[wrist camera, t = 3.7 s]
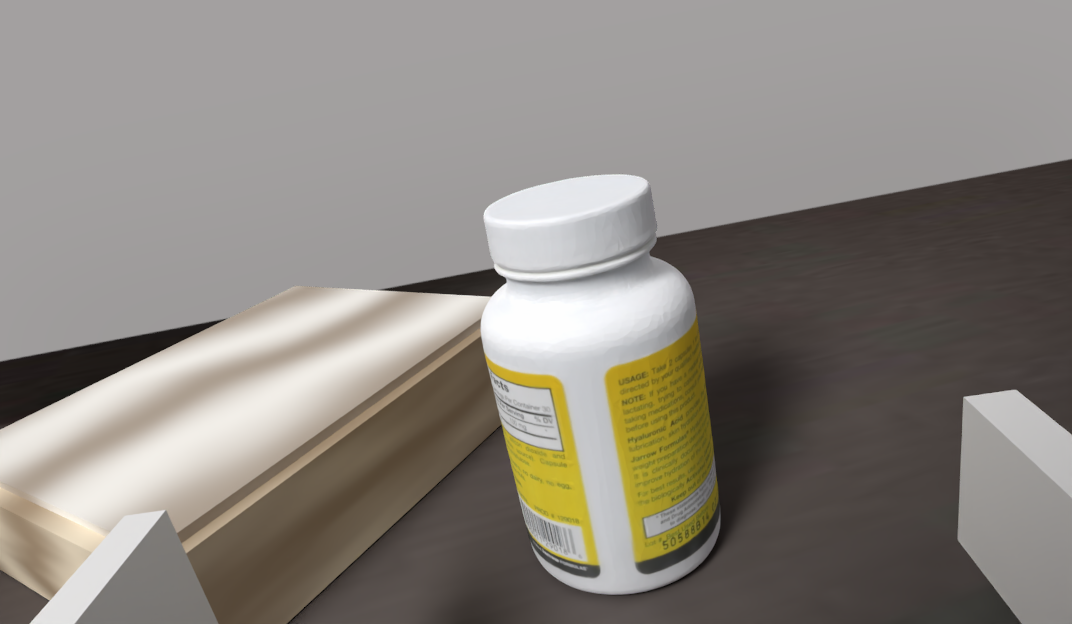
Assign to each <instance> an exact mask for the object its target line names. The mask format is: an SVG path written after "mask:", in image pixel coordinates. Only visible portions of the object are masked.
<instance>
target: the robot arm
mask: <svg viewBox="0 0 1072 624" xmlns="http://www.w3.org/2000/svg"><path fill="white" fill-rule="evenodd" d="M958 541H959V542H960V544H961V545H962V546H963V548H964V549H965V550H966V551H967V553H968V554H969V555H970V557H971V558H972V559H973V561H974V562H975V563H976V565H977V566H978V567H979V568H980V570H981V571H982V572H983V574H984V575H985V576H986V578H987V579H988V580H989V582H990V583H991V584H992V585H993V587H994V588H995V589H996V591H997V592H998V593H999V595H1000V596H1001V597H1002V598H1003V600H1004V601H1005V602H1006V604H1007V605H1008V606H1009V608H1010V609H1011V610H1012V612H1013V613H1014V614H1015V615H1016V617H1017V618H1018V619H1019V621H1020V622H1021V623H1022V624H1072V435H1071V434H1070V433H1069V432H1068V431H1066V430H1065V429H1064V428H1063V427H1061V426H1060V425H1059V424H1058V423H1056V422H1055V421H1054V420H1053V419H1051V418H1050V417H1049V416H1048V415H1047V414H1045V413H1044V412H1043V411H1042V410H1040V409H1039V408H1038V407H1037V406H1035V405H1034V404H1033V403H1032V402H1030V401H1029V400H1028V399H1027V398H1026V397H1024V396H1023V395H1022V394H1021V393H1019V392H1018V391H1017V390H1010V391H1003V392H995V393H988V394H981V395H974V396H967V397H963V422H962V446H961V470H960V495H959V519H958ZM30 624H218V622H217V619H216V617H215V615H214V613H213V611H212V609H211V606H210V604H209V602H208V600H207V598H206V596H205V593H204V591H203V589H202V587H201V585H200V583H199V580H198V578H197V576H196V574H195V572H194V570H193V567H192V565H191V563H190V561H189V559H188V557H187V554H186V552H185V550H184V548H183V546H182V543H181V541H180V539H179V537H178V535H177V533H176V530H175V528H174V526H173V524H172V522H171V520H170V517H169V515H168V513H167V511H166V510H161V511H154V512H147V513H140V514H133V515H126V516H124V517H123V518H122V519H121V520H120V521H119V523H118V524H117V525H116V526H115V527H114V528H113V529H112V531H111V532H110V533H109V534H108V535H107V536H106V537H105V539H104V540H103V541H102V542H101V543H100V544H99V545H98V547H97V548H96V549H95V550H94V551H93V552H92V553H91V555H90V556H89V557H88V558H87V559H86V560H85V561H84V562H83V564H82V565H81V566H80V567H79V568H78V569H77V570H76V572H75V573H74V574H73V575H72V576H71V577H70V578H69V580H68V581H67V582H66V583H65V584H64V585H63V586H62V588H61V589H60V590H59V591H58V592H57V593H56V594H55V596H54V597H53V598H52V599H51V600H50V601H49V602H48V604H47V605H46V606H45V607H44V608H43V609H42V610H41V611H40V613H39V614H38V615H37V616H36V617H35V618H34V619H33V621H32V622H31V623H30Z"/></svg>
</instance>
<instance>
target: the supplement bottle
mask: <svg viewBox="0 0 1072 624" xmlns="http://www.w3.org/2000/svg"><path fill="white" fill-rule="evenodd" d="M484 223H485V228H486V233H487V238H488V244H489V249H490V254H491V257H492V259H493V261H494V262H495V263H494V268H495V270H496V271H497V272H498V273H499V274H500V275H502V276H504V277H506V279H507V283H506V284H505V285H503V286H502V287H501V288H500V289H498V290H497V291H496V293H495V294H494V295H493V296H492V297H491V299H490V300H489V301H488V303H487V305H486V307H485V309H484V311H483V314H482V319H481V338H482V343H483V349H484V353H485V358H486V362H487V366H488V370H489V373H490V378H491V382H492V386H493V390H494V394H495V398H496V403H497V407H498V411H499V416H500V420H501V424H502V427H503V432H504V437H505V441H506V445H507V449H508V453H509V457H510V461H511V466H512V470H513V474H514V478H515V482H516V486H517V490H518V495H519V499H520V503H521V507H522V511H523V515H524V519H525V523H526V527H527V531H528V536H529V539H530V541H531V545H532V548H533V550H534V552H535V555H536V556H537V558H538V560H539V561H540V563H541V564H542V566H543V567H544V568H545V569H546V570H547V571H548V572H549V573H550V574H551V575H553V576H554V577H555V578H557V579H558V580H560V581H561V582H563V583H565V584H567V585H569V586H571V587H573V588H576V589H579V590H582V591H587V592H592V593H598V594H608V595H623V594H633V593H639V592H645V591H649V590H653V589H656V588H659V587H662V586H665V585H667V584H670V583H672V582H674V581H676V580H678V579H680V578H682V577H684V576H685V575H687V574H688V573H690V572H691V571H693V570H694V569H695V568H696V567H698V566H699V565H700V564H701V563H702V562H703V561H704V560H705V558H706V557H707V556H708V554H709V553H710V551H711V550H712V548H713V546H714V545H715V542H716V540H717V537H718V534H719V530H720V501H719V493H718V484H717V477H716V468H715V458H714V449H713V440H712V432H711V424H710V416H709V408H708V400H707V392H706V384H705V375H704V367H703V359H702V352H701V344H700V338H699V329H698V321H697V314H696V308H695V302H694V296H693V293H692V290H691V288H690V285H689V283H688V282H687V280H686V279H685V277H684V276H683V275H682V274H681V273H680V272H679V271H678V270H677V269H676V268H675V267H673V266H672V265H670V264H668V263H666V262H665V261H662V260H660V259H657V258H654V257H650V255H649V251H650V250H651V249H652V248H653V246H654V245H655V243H656V240H657V237H656V233H655V232H656V231H657V222H656V218H655V212H654V206H653V200H652V193H651V187H650V185H649V183H648V181H646V180H645V179H644V178H642V177H638V176H633V175H622V174H616V175H597V176H588V177H587V176H586V177H580V178H572V179H566V180H561V181H557V182H552V183H547V184H543V185H539V186H535V187H532V188H528V189H525V190H522V191H519V192H516V193H513V194H511V195H509V196H506V197H504V198H502V199H500V200H498V201H496V202H495V203H493V204H491V205H490V206H489V207H488V208H487V209H486V210H485V212H484Z"/></svg>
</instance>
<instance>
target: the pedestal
mask: <svg viewBox="0 0 1072 624" xmlns="http://www.w3.org/2000/svg"><path fill="white" fill-rule="evenodd" d="M490 299H491V297H482V296H465V295H447V294H429V293H412V292H394V291H377V290H359V289H341V288H324V287H305V286H294V287H292V288H290V289H288V290H286V291H284V292H282V293H280V294H278V295H276V296H274V297H272V298H270V299H268V300H265V301H263V302H261V303H259V304H257V305H255V306H253V307H251V308H249V309H247V310H245V311H243V312H241V313H239V314H237V315H235V316H233V317H231V318H229V319H226V320H224V321H222V322H220V323H218V324H216V325H214V326H212V327H210V328H208V329H206V330H204V331H202V332H200V333H198V334H196V335H194V336H192V337H190V338H187V339H185V340H183V341H181V342H179V343H177V344H175V345H173V346H171V347H169V348H167V349H165V350H163V351H161V352H159V353H157V354H155V355H153V356H151V357H148V358H146V359H144V360H142V361H140V362H138V363H136V364H134V365H132V366H130V367H128V368H126V369H124V370H122V371H120V372H118V373H116V374H114V375H112V376H109V377H107V378H105V379H103V380H101V381H99V382H97V383H95V384H93V385H91V386H89V387H87V388H85V389H83V390H81V391H79V392H77V393H75V394H73V395H70V396H68V397H66V398H64V399H62V400H60V401H58V402H56V403H54V404H52V405H50V406H48V407H46V408H44V409H42V410H40V411H38V412H36V413H34V414H31V415H29V416H27V417H25V418H23V419H21V420H19V421H17V422H15V423H13V424H11V425H9V426H7V427H5V428H3V429H1V430H0V570H2V571H3V572H5V573H6V574H8V575H10V576H11V577H13V578H14V579H16V580H18V581H19V582H21V583H22V584H24V585H26V586H27V587H29V588H30V589H32V590H34V591H35V592H37V593H38V594H40V595H42V596H43V597H45V598H46V599H48V600H51V599H52V598H53V597H54V596H55V594H56V593H57V592H58V591H59V590H60V589H61V588H62V586H63V585H64V584H65V583H66V582H67V581H68V580H69V578H70V577H71V576H72V575H73V574H74V573H75V572H76V570H77V569H78V568H79V567H80V566H81V565H82V564H83V562H84V561H85V560H86V559H87V558H88V557H89V556H90V555H91V553H92V552H93V551H94V550H95V549H96V548H97V547H98V545H99V544H100V543H101V542H102V541H103V540H104V539H105V537H106V536H107V535H108V534H109V533H110V532H111V531H112V529H113V528H114V527H115V526H116V525H117V524H118V523H119V521H120V520H121V519H122V518H123V517H124V516H126V515H133V514H140V513H147V512H154V511H161V510H166V511H167V513H168V515H169V517H170V520H171V522H172V524H173V526H174V528H175V530H176V533H177V535H178V537H179V539H180V541H181V543H182V546H183V548H184V550H185V552H186V554H187V557H188V559H189V561H190V563H191V565H192V567H193V570H194V572H195V574H196V576H197V578H198V580H199V583H200V585H201V587H202V589H203V591H204V593H205V596H206V598H207V600H208V602H209V604H210V606H211V609H212V611H213V613H214V615H215V617H216V619H217V622H218V624H287V623H288V622H289V621H290V620H291V619H292V618H293V617H294V616H296V615H297V614H298V613H299V612H300V611H301V610H302V609H303V608H304V607H305V606H306V605H307V604H308V603H310V602H311V601H312V600H313V599H314V598H315V597H316V596H317V595H318V594H319V593H320V592H321V591H322V590H324V589H325V588H326V587H327V586H328V585H329V584H330V583H331V582H332V581H333V580H334V579H335V578H336V577H338V576H339V575H340V574H341V573H342V572H343V571H344V570H345V569H346V568H347V567H348V566H349V565H350V564H352V563H353V562H354V561H355V560H356V559H357V558H358V557H359V556H360V555H361V554H362V553H363V552H364V551H366V550H367V549H368V548H369V547H370V546H371V545H372V544H373V543H374V542H375V541H376V540H377V539H378V538H380V537H381V536H382V535H383V534H384V533H385V532H386V531H387V530H388V529H389V528H390V527H391V526H392V525H394V524H395V523H396V522H397V521H398V520H399V519H400V518H401V517H402V516H403V515H404V514H405V513H406V512H408V511H409V510H410V509H411V508H412V507H413V506H414V505H415V504H416V503H417V502H418V501H419V500H420V499H421V498H423V497H424V496H425V495H426V494H427V493H428V492H429V491H430V490H431V489H432V488H433V487H434V486H435V485H437V484H438V483H439V482H440V481H441V480H442V479H443V478H444V477H445V476H446V475H447V474H448V473H449V472H451V471H452V470H453V469H454V468H455V467H456V466H457V465H458V464H459V463H460V462H461V461H462V460H463V459H465V458H466V457H467V456H468V455H469V454H470V453H471V452H472V451H473V450H474V449H475V448H476V447H477V446H479V445H480V444H481V443H482V442H483V441H484V440H485V439H486V438H487V437H488V436H489V435H490V434H491V433H493V432H494V431H495V430H496V429H497V428H498V427H499V426H500V425H501V420H500V416H499V411H498V407H497V403H496V398H495V394H494V390H493V386H492V382H491V378H490V373H489V370H488V366H487V362H486V358H485V353H484V349H483V343H482V338H481V319H482V314H483V311H484V309H485V307H486V305H487V303H488V301H489V300H490Z"/></svg>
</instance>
